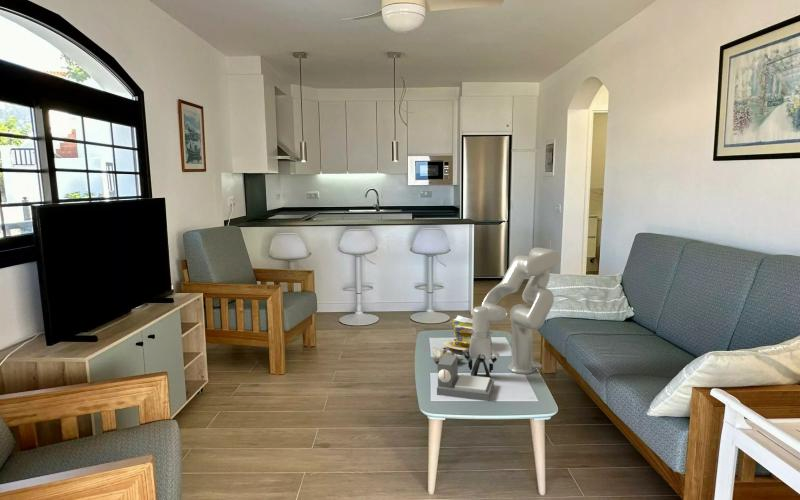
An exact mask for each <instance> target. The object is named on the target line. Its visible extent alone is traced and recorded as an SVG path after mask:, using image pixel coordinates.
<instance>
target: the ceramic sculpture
mask: <svg viewBox="0 0 800 500" xmlns="http://www.w3.org/2000/svg"><path fill="white" fill-rule="evenodd" d="M444 354H447V355H455V354H454V352H453V351H452V350H450V349H447V347H446V346H445V347H442V348H441V349H440V348H437V347H432V355H433V361H434V363H439V361H440V360H441V358H442V357H443V355H444ZM461 361H464V359H463V358H460V357H459V356H457V363H459V362H461Z"/></svg>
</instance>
